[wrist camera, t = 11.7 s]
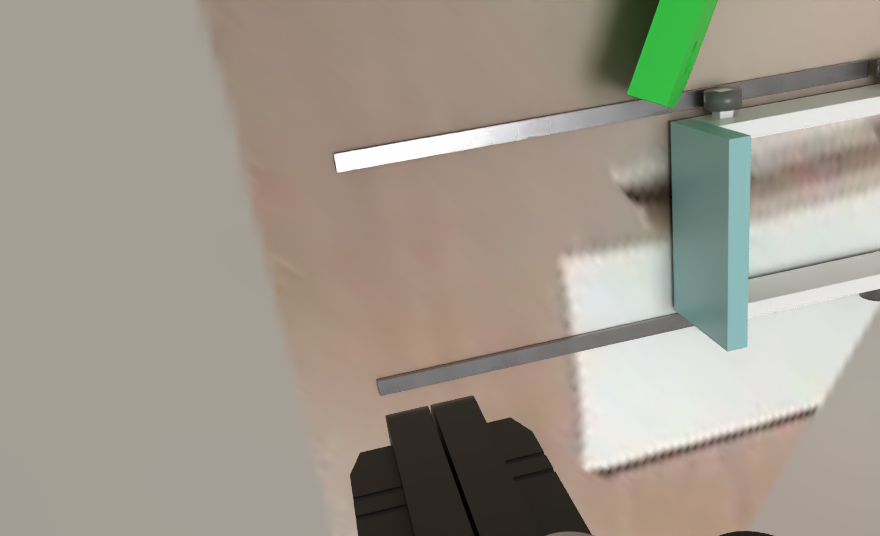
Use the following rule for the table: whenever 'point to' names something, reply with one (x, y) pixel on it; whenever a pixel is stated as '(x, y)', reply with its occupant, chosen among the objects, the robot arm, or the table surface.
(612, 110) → the rails
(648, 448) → the table surface
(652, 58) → the mechanical part
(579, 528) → the robot arm
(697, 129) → the cart
